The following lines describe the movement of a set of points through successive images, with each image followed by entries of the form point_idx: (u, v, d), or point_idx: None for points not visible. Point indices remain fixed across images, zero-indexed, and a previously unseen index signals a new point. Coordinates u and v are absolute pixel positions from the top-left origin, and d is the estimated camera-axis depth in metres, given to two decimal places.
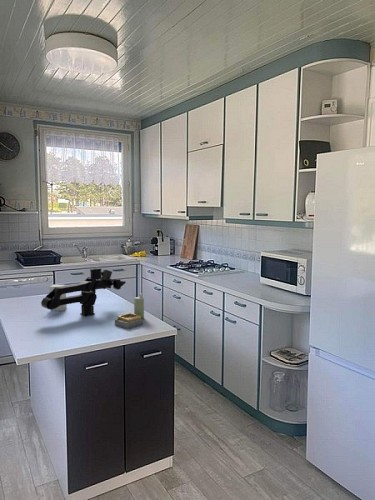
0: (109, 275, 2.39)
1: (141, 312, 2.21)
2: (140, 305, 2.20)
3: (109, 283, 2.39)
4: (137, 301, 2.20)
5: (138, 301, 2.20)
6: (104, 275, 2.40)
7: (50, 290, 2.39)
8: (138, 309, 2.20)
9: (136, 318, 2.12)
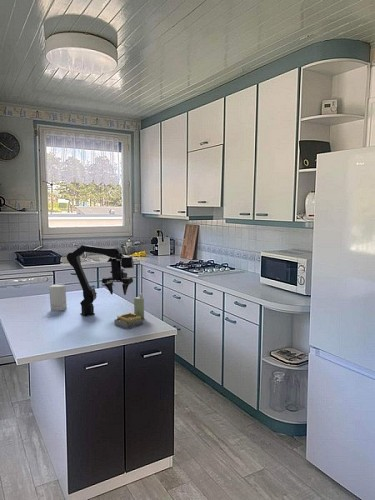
0: (125, 275, 2.33)
1: (141, 312, 2.21)
2: (140, 305, 2.20)
3: (121, 276, 2.28)
4: (137, 301, 2.20)
5: (138, 301, 2.20)
6: None
7: (50, 290, 2.39)
8: (138, 309, 2.20)
9: (136, 318, 2.12)
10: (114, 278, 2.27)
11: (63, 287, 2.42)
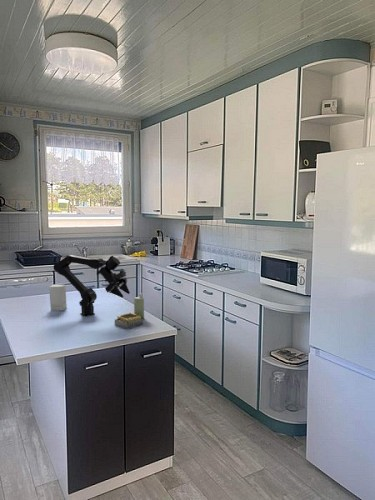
0: (118, 276, 2.22)
1: (141, 312, 2.21)
2: (140, 305, 2.20)
3: (112, 282, 2.23)
4: (137, 301, 2.20)
5: (138, 301, 2.20)
6: None
7: (50, 290, 2.39)
8: (138, 309, 2.20)
9: (136, 318, 2.12)
10: None
11: (63, 287, 2.42)
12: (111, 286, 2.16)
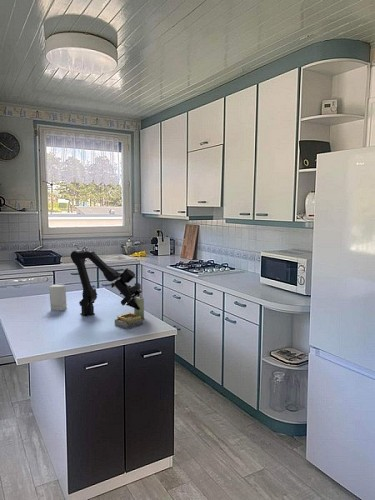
0: (133, 289, 2.20)
1: (141, 312, 2.21)
2: (140, 305, 2.20)
3: (127, 294, 2.21)
4: (137, 301, 2.20)
5: (138, 301, 2.20)
6: None
7: (50, 290, 2.39)
8: None
9: (136, 318, 2.12)
10: None
11: (63, 287, 2.42)
12: (127, 299, 2.14)
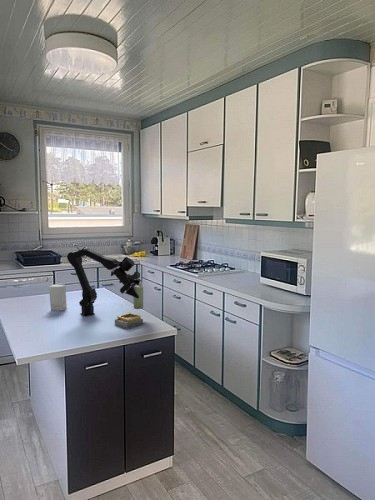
0: (132, 277, 2.19)
1: (140, 301, 2.20)
2: (139, 294, 2.19)
3: (126, 283, 2.20)
4: (136, 289, 2.19)
5: (137, 289, 2.18)
6: None
7: (50, 290, 2.39)
8: None
9: (136, 318, 2.12)
10: None
11: (63, 287, 2.42)
12: (125, 287, 2.13)
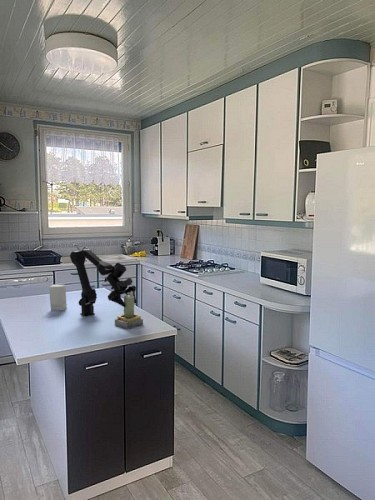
0: (122, 284, 2.11)
1: (129, 312, 2.11)
2: (128, 305, 2.10)
3: (116, 290, 2.13)
4: (126, 300, 2.10)
5: (126, 300, 2.10)
6: None
7: (50, 290, 2.39)
8: (127, 308, 2.10)
9: (136, 318, 2.12)
10: None
11: (63, 287, 2.42)
12: (112, 294, 2.06)
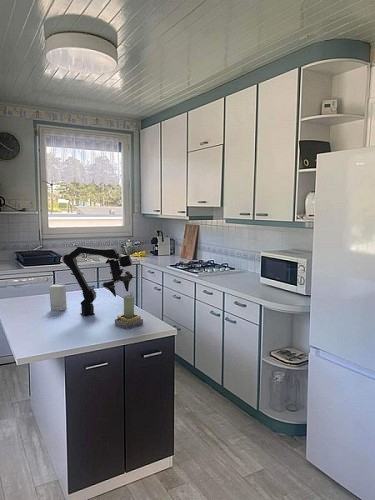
0: (119, 278, 2.25)
1: (129, 311, 2.11)
2: (128, 304, 2.10)
3: (113, 277, 2.28)
4: (125, 300, 2.10)
5: (126, 300, 2.10)
6: (122, 273, 2.27)
7: (50, 290, 2.39)
8: (127, 308, 2.11)
9: (136, 318, 2.12)
10: None
11: (63, 287, 2.42)
12: (107, 285, 2.23)
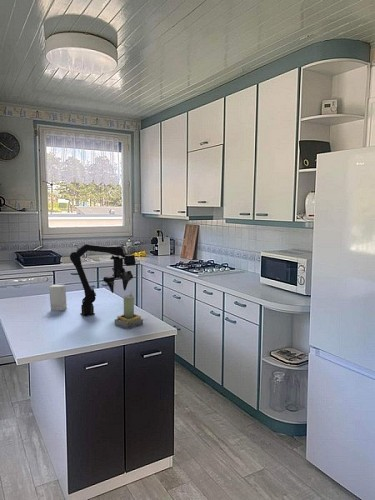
0: (120, 276, 2.30)
1: (129, 311, 2.11)
2: (128, 304, 2.11)
3: (115, 274, 2.33)
4: (125, 300, 2.11)
5: (126, 300, 2.10)
6: (124, 272, 2.32)
7: (50, 290, 2.39)
8: (127, 308, 2.11)
9: (136, 318, 2.12)
10: None
11: (63, 287, 2.42)
12: (107, 281, 2.28)
